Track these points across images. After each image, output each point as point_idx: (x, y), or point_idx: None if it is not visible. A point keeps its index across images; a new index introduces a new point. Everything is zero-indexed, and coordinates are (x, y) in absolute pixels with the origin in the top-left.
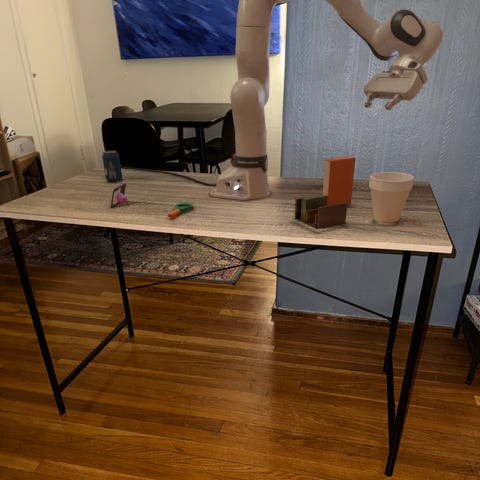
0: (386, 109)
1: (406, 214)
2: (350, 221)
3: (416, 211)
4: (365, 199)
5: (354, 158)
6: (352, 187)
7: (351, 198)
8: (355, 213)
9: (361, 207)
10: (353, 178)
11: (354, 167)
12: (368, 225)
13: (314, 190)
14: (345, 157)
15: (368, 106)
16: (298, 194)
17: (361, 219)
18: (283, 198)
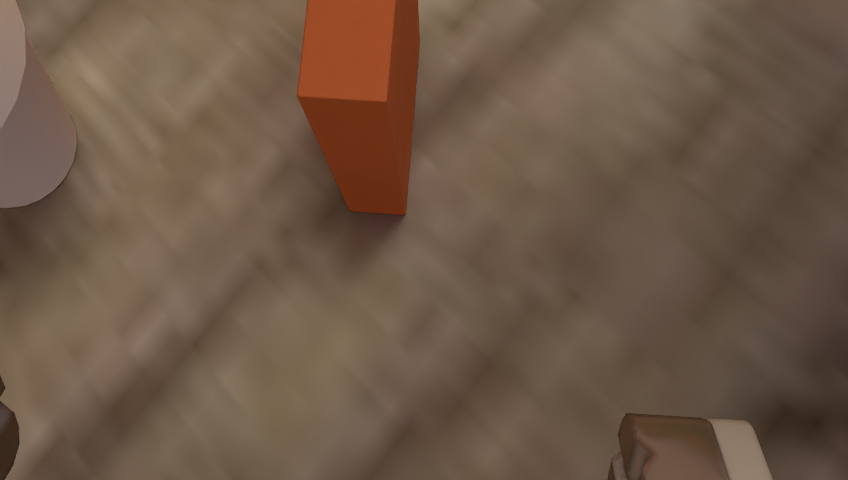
0: (7, 426)
1: (21, 361)
2: (153, 15)
3: (15, 464)
4: (418, 421)
5: (299, 85)
6: (333, 174)
7: (343, 196)
8: (236, 138)
9: (300, 256)
10: (324, 155)
11: (312, 126)
12: (44, 40)
13: (823, 309)
14: (359, 25)
15: (617, 477)
16: (790, 149)
17: (137, 85)
18: (758, 14)
